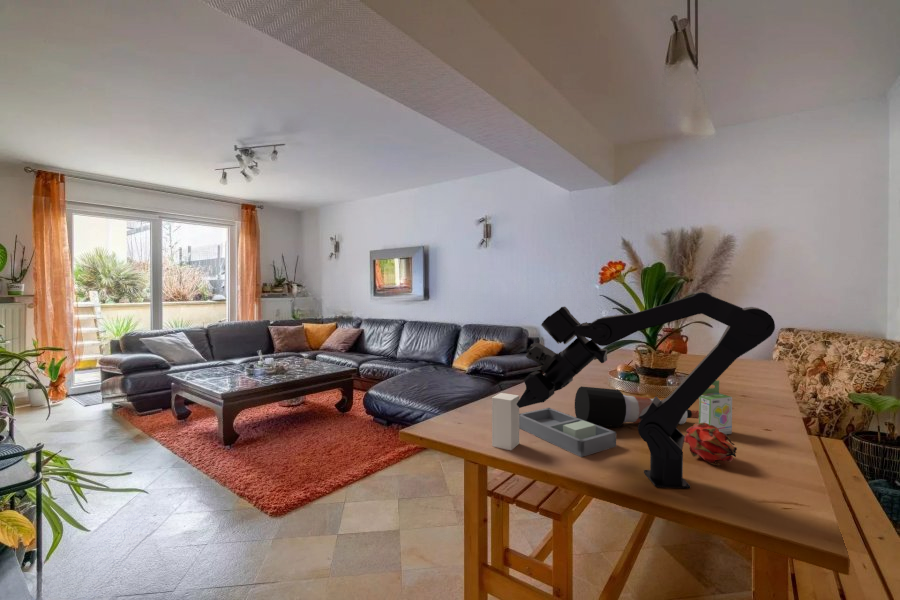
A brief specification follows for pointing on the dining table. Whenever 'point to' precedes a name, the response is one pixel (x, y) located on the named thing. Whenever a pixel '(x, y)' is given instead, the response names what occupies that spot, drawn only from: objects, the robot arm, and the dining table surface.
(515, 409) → the cream block
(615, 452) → the dining table surface
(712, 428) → the dragon fruit
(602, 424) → the black and white bottle
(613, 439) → the tray
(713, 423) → the ink box
